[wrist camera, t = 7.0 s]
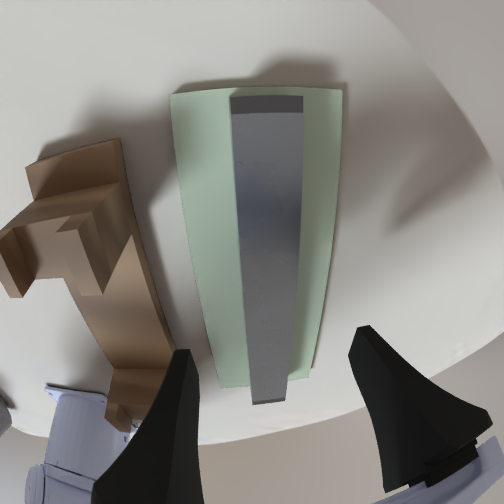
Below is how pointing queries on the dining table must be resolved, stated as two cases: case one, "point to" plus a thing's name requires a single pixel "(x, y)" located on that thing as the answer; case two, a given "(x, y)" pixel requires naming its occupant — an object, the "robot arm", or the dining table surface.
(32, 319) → the dining table surface
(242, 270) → the rail
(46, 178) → the rack
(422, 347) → the dining table surface
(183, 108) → the pad
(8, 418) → the coffee pot
